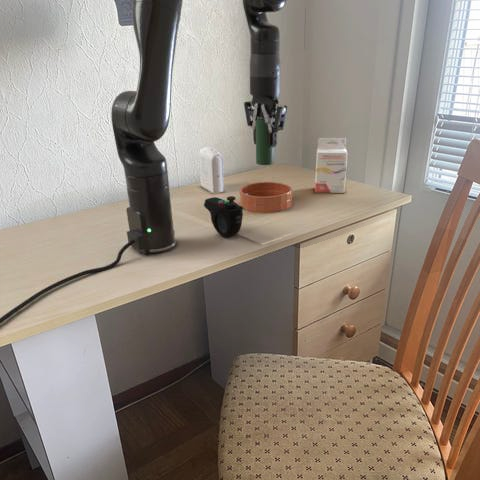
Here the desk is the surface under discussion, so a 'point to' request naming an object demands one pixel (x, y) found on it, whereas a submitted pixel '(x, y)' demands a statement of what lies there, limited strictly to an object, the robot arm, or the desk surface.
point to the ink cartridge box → (331, 165)
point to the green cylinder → (263, 144)
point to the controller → (225, 215)
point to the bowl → (265, 197)
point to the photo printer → (211, 170)
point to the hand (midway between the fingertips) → (265, 145)
